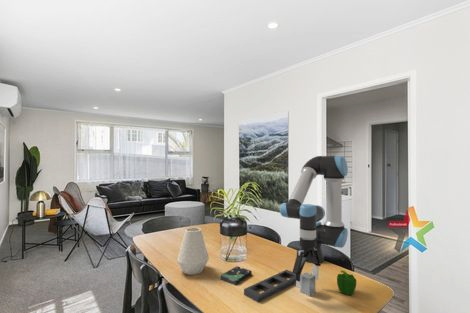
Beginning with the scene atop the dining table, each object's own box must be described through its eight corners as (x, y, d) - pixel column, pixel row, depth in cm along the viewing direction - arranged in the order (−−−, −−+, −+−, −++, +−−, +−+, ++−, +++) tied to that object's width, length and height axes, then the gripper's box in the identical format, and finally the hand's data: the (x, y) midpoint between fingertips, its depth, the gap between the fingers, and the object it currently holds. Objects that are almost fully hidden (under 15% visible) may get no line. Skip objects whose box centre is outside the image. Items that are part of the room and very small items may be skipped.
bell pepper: (358, 292, 123) (358, 270, 123) (353, 299, 117) (353, 276, 117) (340, 286, 129) (340, 266, 129) (334, 292, 122) (334, 271, 122)
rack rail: (286, 274, 142) (286, 269, 142) (300, 280, 135) (300, 275, 135) (243, 294, 120) (243, 289, 120) (257, 302, 114) (257, 296, 114)
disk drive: (236, 270, 147) (219, 280, 135) (236, 266, 147) (219, 275, 135) (252, 275, 141) (236, 286, 129) (252, 270, 141) (236, 280, 129)
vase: (213, 266, 152) (213, 226, 152) (201, 279, 135) (201, 235, 135) (185, 262, 157) (186, 224, 157) (171, 275, 140) (171, 232, 140)
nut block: (306, 288, 126) (306, 272, 126) (315, 292, 122) (315, 275, 122) (300, 292, 123) (300, 275, 123) (309, 296, 119) (309, 279, 119)
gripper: (315, 231, 134) (314, 273, 133) (284, 240, 117) (284, 288, 117) (328, 234, 128) (328, 278, 128) (299, 245, 111) (298, 295, 111)
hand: (307, 283), depth 122 cm, fingers open, 13 cm apart
